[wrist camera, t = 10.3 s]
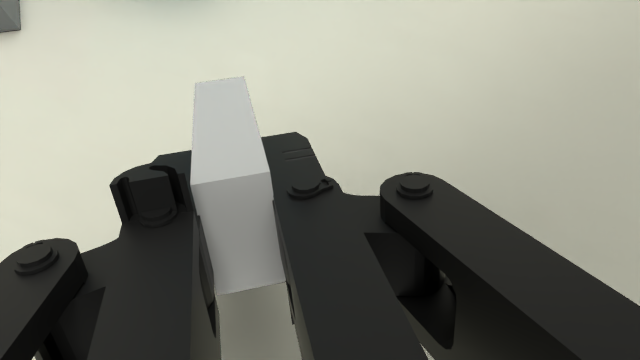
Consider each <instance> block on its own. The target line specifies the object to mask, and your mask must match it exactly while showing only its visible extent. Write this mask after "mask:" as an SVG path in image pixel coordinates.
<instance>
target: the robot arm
mask: <svg viewBox="0 0 640 360" xmlns="http://www.w3.org/2000/svg"><path fill="white" fill-rule="evenodd" d="M109 186H110V189H111V192H112V195H113V198H114V201H115V204H116V207H117V209H118V212H119V215H120V218H121V221H122V226H121V230H120V234H119V238H117V239H116V240H114V241H112V242H110V243H107V244H105V245H103V246H100V247H98V248H95V249H92V250H89V251H87V252H84V253H81V254H80V251H79V249H78V246H77V244H76V243H75V242H73V241H71V240H69V239H61V238H54V239H48V240H40V241H36V242H35V243H31V244H28V245H26V246H24V247H23V248H21V249H19V250H17V251H16V252H14V253H12V254H11V255H9V256H8V257H7V258H6V259H4V260H3V261H2V262H1V263H0V360H32V358H33V357H35V358H36V360H221V345H220V323H219V311H218V307H217V303H216V299H215V295H214V285H215V289H216V293H217V296H219V295H224V294H229V293H234V292H239V291H244V290H249V289H254V288H258V287H263V286H268V285H273V284H278V283H283V282H286V285H287V291H288V298H289V305H290V311H291V318H292V325H293V324H294V325H295V329H296V333H297V338H298V342H299V347H300V351H301V356H302V360H428V358H427V356H426V354H425V352H424V350H423V348H422V346H423V347H424V348H425V349H426V350H427V351H428V352H429V354H430V355H431V356H432V357H433V358H434V359H435V360H640V306H639V305H637V304H636V303H634V302H633V301H631V300H629V299H628V298H626V297H625V296H623V295H622V294H620V293H619V292H617V291H615V290H614V289H612V288H611V287H609V286H608V285H606V284H605V283H603V282H601V281H600V280H598V279H597V278H595V277H594V276H592V275H590V274H589V273H587V272H586V271H584V270H583V269H581V268H580V267H578V266H576V265H575V264H573V263H572V262H570V261H569V260H567V259H565V258H564V257H562V256H561V255H559V254H558V253H556V252H555V251H553V250H551V249H550V248H548V247H547V246H545V245H544V244H542V243H541V242H539V241H537V240H536V239H534V238H533V237H531V236H530V235H528V234H526V233H525V232H523V231H522V230H520V229H519V228H517V227H516V226H514V225H512V224H511V223H509V222H508V221H506V220H505V219H503V218H501V217H500V216H498V215H497V214H495V213H494V212H492V211H491V210H489V209H487V208H486V207H484V206H483V205H481V204H480V203H478V202H476V201H475V200H473V199H472V198H470V197H469V196H467V195H466V194H464V193H462V192H461V191H459V190H458V189H456V188H455V187H453V186H452V185H450V184H448V183H447V182H445V181H444V180H442V179H440V178H437V177H435V176H433V175H428V174H423V173H420V172H414V173H412V172H409V173H404V174H400V175H395V176H393V177H391V178H389V179H387V180H385V181H384V182H383V184H382V185H381V186H380V196H358V195H350V194H346V193H343V192H342V190H341V188H340V186H339V184H338V183H337V182H336V181H335V180H334V179H332V178H330V177H327V176H325V174H324V172H323V170H322V168H321V166H320V164H319V162H318V160H317V158H316V156H315V153H314V151H313V149H312V148H311V145H310V143H309V141H308V139H307V138H306V137H304V136H302V135H300V134H299V133H297V132H292V133H286V134H280V135H273V136H267V137H261V136H260V133H259V129H258V125H257V122H256V118H255V114H254V111H253V107H252V103H251V99H250V96H249V92H248V88H247V85H246V81H245V77H244V76H242V77H235V78H227V79H220V80H213V81H206V82H199V83H195V91H194V113H193V135H192V150H189V151H183V152H177V153H171V154H164V155H159V156H158V157H157V158H156V159H155V160H154V161H153V162H152V163H149V164H145V165H141V166H137V167H135V168H132V169H130V170H127V171H125V172H123V173H122V174H120V175H119V176H117V177H116V178H114V180H113V181H112V182H111V184H110V185H109ZM420 343H421V344H422V346H421V344H420Z"/></svg>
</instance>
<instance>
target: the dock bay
mask: <svg viewBox="0 0 640 360" xmlns="http://www.w3.org/2000/svg"><path fill="white" fill-rule="evenodd" d="M13 30H20V12H19V0H0V32H5V31H13Z"/></svg>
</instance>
